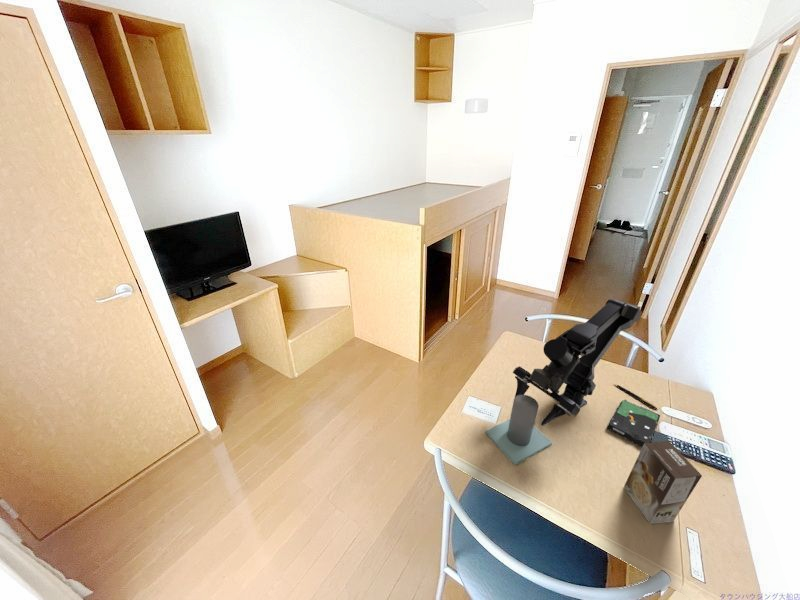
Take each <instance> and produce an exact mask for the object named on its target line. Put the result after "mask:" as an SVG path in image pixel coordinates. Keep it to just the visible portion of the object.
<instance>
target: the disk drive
mask: <svg viewBox="0 0 800 600" xmlns="http://www.w3.org/2000/svg"><path fill="white" fill-rule="evenodd" d="M627 400H628V399H624V400H623V399H622V400H621V401H620V402H619V405H618V407H617V408H616V410H615V412H614V414H613V415H612V417H611V418H610V420H609V422H608V424H607V426H606V429H607V430H608V431H610V432H612V433H614V434H616V435H618V436H620V437H622V438H624V439H626V440H627V441H629V442H631V443H633V444H635V445H637V446H639V447H641V448H642V447H643V445H644V443H651V440H652V437H653V434H654V432H655V430H656V427H657V425H658V423H659V421H660V418H661V414H659V413H657V412H654V411H652V410H650V409H647V408H645V407H643V406H640V405H637V404H635V403H632V402H631V401H627Z"/></svg>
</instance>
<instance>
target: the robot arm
mask: <svg viewBox="0 0 800 600" xmlns="http://www.w3.org/2000/svg"><path fill="white" fill-rule="evenodd" d="M642 316H643V311H642V310H641V308H640V306H638V305H635V304H632V303H630V302H627V301H625V300H621V299H616V298H608V300H606V302H605V305H604V306H602V307H601V308H600V309H599V310H597V312H596V313H595V314H594V315H592V316H591V317H589V319H588V320H586V322H585V323H577V324H575V325H573V326H572V327H571V328H569V329H567V330H566V331H564V332H563V333H561V334H560V335H558V336H557V337H556V338H553V339H550V340H548V341H547V342H545V344H544V345H543V353H544V355H545V356H546V357H547V358H548V360H549V361H550V362H549V364H546V365H544V367H543V368H533V371H532V373H530V372H529V371H528V370H526V369H524V368H523V367H522V366H520V365H519V366H517V367H515V368H514V369H513V370H512V373H513V374H514V375H516V376H514V378H515V379H516V384H517V385H516V392H515V393H514V394H515V395H514V398H515V397H516V396H518V395H526V392H527V391H528V389H529V388H530V385H529V384H531V385H533V386H534V387H535V388H537V389H538V390H540V391H541V392H543V393H544V394H546V395H547V396H548V397H550V398H551V399H553V400H555V401H556V402H557V403H558V404H557V403H553V406H552V409H551V410H550V411H549V412H548V414H547V415H546V416H545V417H544V418H543V420H542V421H541V423H540V426H541V427H544V426H545V425H547V424H549V423H550V422H552V421H554V420H555V419H557V418H561V417H562V416H564V415H567V416H570V415H571V414H572V415H573V416H575V417H576V416H578V414H579V413H580V411H581V407H583V406H585V405H587V404H588V401H587V400H586V399H585V398H584V397H586V396H593V393H594V390H595V389H596V383H595V382H594V379H595V368H596V366H597V364H598V363H599V362H600V361H601V360H602V358H603V357H604V355H605V354H606V352H607V351H608V349H609V348H610V347H611V345H612V344H613V343H614V341H615V340H616V338H617V337H618V336H619V334H620V333H621V332H623V331H625V330H628V329H630V328H632V327H633V326H634V325H635V323H637V322H638V321H639V320H640V318H641V317H642ZM564 384H565V387H564V391H563V393H561V394H559V393H560V389H561V388H562V386H563V385H564ZM550 391H551V392H550Z"/></svg>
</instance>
